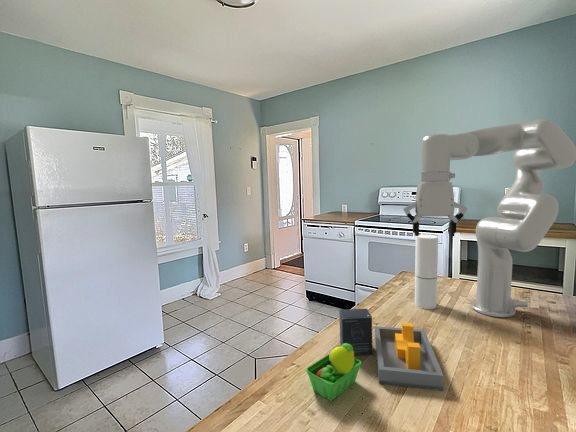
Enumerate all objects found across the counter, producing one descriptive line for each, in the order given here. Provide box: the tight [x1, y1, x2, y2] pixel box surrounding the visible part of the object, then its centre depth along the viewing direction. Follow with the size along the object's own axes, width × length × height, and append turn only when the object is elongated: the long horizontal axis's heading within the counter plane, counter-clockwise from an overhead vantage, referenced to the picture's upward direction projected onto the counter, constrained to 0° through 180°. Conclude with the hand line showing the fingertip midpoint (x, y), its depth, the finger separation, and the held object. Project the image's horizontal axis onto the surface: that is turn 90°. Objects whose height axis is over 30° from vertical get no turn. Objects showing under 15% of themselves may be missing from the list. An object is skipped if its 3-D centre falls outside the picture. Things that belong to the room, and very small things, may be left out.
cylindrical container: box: [414, 233, 439, 310], centre depth 109 cm, size 7×7×25 cm
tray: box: [374, 325, 444, 392], centre depth 78 cm, size 13×20×4 cm, turn 167°
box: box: [339, 308, 374, 356], centre depth 83 cm, size 8×6×11 cm
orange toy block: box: [395, 322, 420, 370], centre depth 78 cm, size 12×4×6 cm, turn 167°
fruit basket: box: [305, 343, 362, 402], centre depth 69 cm, size 11×9×11 cm
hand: (433, 235), depth 93 cm, fingers open, 9 cm apart
